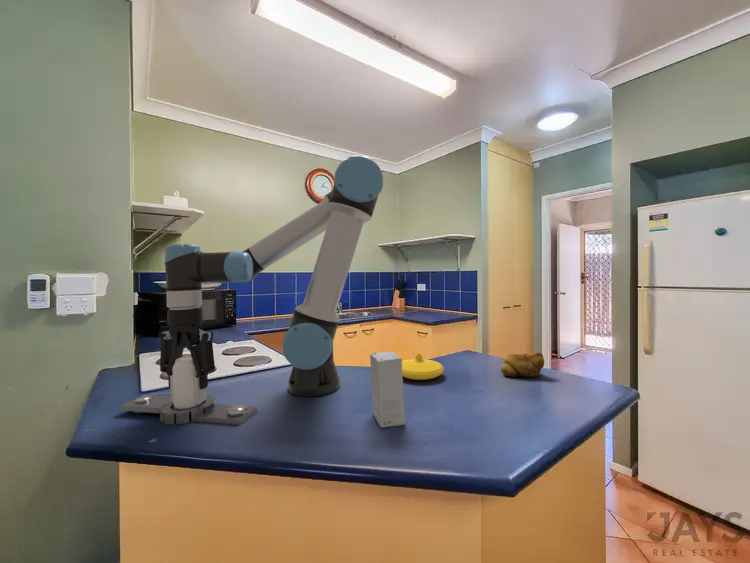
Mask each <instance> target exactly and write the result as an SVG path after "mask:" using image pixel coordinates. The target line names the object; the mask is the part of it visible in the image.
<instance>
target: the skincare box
mask: <svg viewBox="0 0 750 563" xmlns="http://www.w3.org/2000/svg"><path fill="white" fill-rule="evenodd" d="M369 355H370V357H369V358H370V374H371V375H370V376H371V397H372V398H371V399H372V414H373V416H374V418H375V419H376V421H377V423H378V425H379V427H380V428H389V427H398V426H399V427H400V426H405V424H406V416H405V415H406V413H405V397H404V394H405V393H404V380H403V378H404V377H403V376H402V361H403V359H402V357H401V356H399V355H397V354H396V353H395V352H393V351H383V352H375V353H370V354H369Z"/></svg>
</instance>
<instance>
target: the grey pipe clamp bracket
mask: <svg viewBox="0 0 750 563" xmlns="http://www.w3.org/2000/svg"><path fill="white" fill-rule="evenodd" d="M119 409H120V411H128V412H132V413H133V414H135V415H136V414H138V415H139V414H143V413H151V414H159V420H160V422H161V423H162V424H164V425H177V426H178V425H182V424H189V423H190V422H191V423H193V422H199V423H210V424H222V425H224V424H225V425H232V426H233V425H234V426H240V425H242V424H243V423H244V422H246V421H247V420H248V419H250V418H251V417H253V416H254V415H255V414H256V413H258V407H257V406H247V404H236V405H232V404H218V403H217V404H216V397H214V396H212V395H210V394H209V395H208V394H206V400H205V401H203V402H202V403H201V404H199V406H197V407H196V408H192V409H188V410H179V409H177V408H175V407H174V402H171V395H168V396H167V395H154V394H144V395H142V396H139V397H137V398H134V399H133V400H130V401H127V402H125V403H122V404H120V408H119Z"/></svg>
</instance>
